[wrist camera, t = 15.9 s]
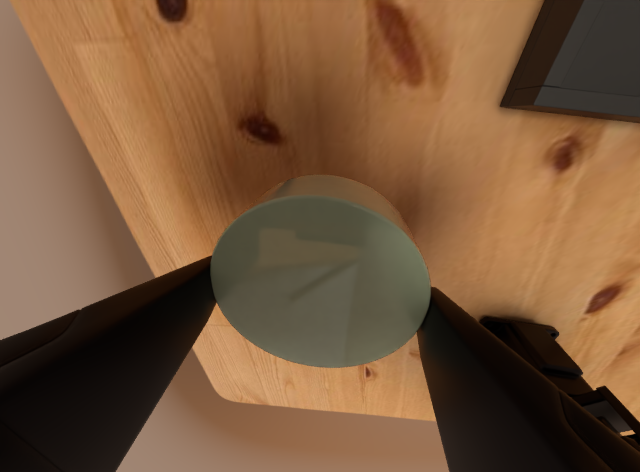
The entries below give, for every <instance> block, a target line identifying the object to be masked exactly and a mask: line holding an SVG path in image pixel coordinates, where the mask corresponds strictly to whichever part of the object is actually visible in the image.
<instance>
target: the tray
mask: <svg viewBox="0 0 640 472" xmlns="http://www.w3.org/2000/svg"><path fill="white" fill-rule="evenodd" d="M500 107H505V108H514V109H523V110H531V111H540V112H549V113H557V114H566V115H575V116H583V117H592V118H601V119H609V120H618V121H627V122H635V123H640V0H545V2H544V5H543V7H542V9H541V12H540V14H539V16H538V19H537V21H536V23H535V26H534V28H533V30H532V33H531V35H530V37H529V40H528V42H527V44H526V47H525V49H524V51H523V54H522V56H521V58H520V61H519V63H518V65H517V68H516V70H515V72H514V75H513V77H512V80H511V82H510V84H509V87H508V89H507V91H506V94H505V96H504V98H503V101H502V103H501V105H500Z"/></svg>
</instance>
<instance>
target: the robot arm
mask: <svg viewBox="0 0 640 472" xmlns="http://www.w3.org/2000/svg"><path fill="white" fill-rule="evenodd" d="M211 259H212V256H209V257H206V258H204V259H201V260H199V261H196V262H194V263H192V264H189V265H187V266H184V267H182V268H179V269H177V270H174V271H172V272H169V273H167V274H165V275H162V276H160V277H157V278H155V279H152V280H150V281H147V282H145V283H143V284H140V285H138V286H135V287H133V288H130V289H128V290H125V291H123V292H121V293H118V294H116V295H113V296H111V297H108V298H106V299H103V300H101V301H99V302H96V303H94V304H91V305H89V306H86V307H84V308H82V309H81V310H76V311H74V312H72V313H69V314H67V315H64V316H62V317H59V318H57V319H54V320H52V321H49V322H47V323H44V324H42V325H39V326H36V327H34V328H31V329H29V330H26V331H24V332H21V333H18V334H16V335H13V336H10V337H8V338H5V339H2V340H0V472H116V470H117V468H118V467H119V465H120V463H121V462H122V460H123V458H124V457H125V455H126V454H127V452H128V451H129V449H130V447H131V446H132V444H133V442H134V441H135V439H136V438H137V436H138V434H139V432H140V431H141V429H142V428H143V426H144V424H145V423H146V421H147V420H148V418H149V416H150V415H151V413H152V411H153V410H154V408H155V406H156V405H157V403H158V402H159V400H160V398H161V397H162V395H163V393H164V392H165V390H166V388H167V387H168V385H169V384H170V382H171V380H172V379H173V377H174V375H175V374H176V372H177V371H178V369H179V367H180V366H181V364H182V362H183V361H184V359H185V357H186V356H187V354H188V353H189V351H190V349H191V348H192V346H193V344H194V343H195V341H196V340H197V338H198V336H199V335H200V333H201V331H202V330H203V328H204V326H205V325H206V323H207V321H208V319H209V317H210V315H211V313H212V311H213V309H214V307H215V305H216V303H217V301H216V299H215V297H214V293H213V288H212V282H211V276H210V265H211ZM417 336H418V344H419V350H420V357H421V361H422V365H423V369H424V373H425V377H426V381H427V385H428V389H429V393H430V397H431V401H432V405H433V409H434V413H435V417H436V421H437V425H438V429H439V432H440V436H441V440H442V444H443V448H444V452H445V456H446V460H447V464H448V468H449V472H640V422H639V421H638V420H637V419H636V418H635V417H634V416H633V415H632V414H631V413H630V412H629V410H628V409H627V408H626V407H625V406H624V405H623V404H622V403H621V402H620V401H619V400H618V399H617V398H616V397H615V396H614V395H613V394H612V393H611V391H610V390H609V389H608V388H607V387H606V386H602V387H598V388H596V389H597V390H593V389H592V388H591V387H590V386H589V384H588V383H587V382H586V381H585V380H584V379H583V378H582V377H581V375H582V374H583V372H582V370H581V369H580V367H579V366H578V365H577V364H576V363H575V362H574V361H573V360H572V359H571V357H570V356H569V355H568V354H567V353H566V352H565V351H564V350H563V349H562V348H561V346H560V345H559V344H558V343H557V342H556V341H555V339H556V338H557V337H558V336H559V332H558V331H557V330H556V329H555V328H553V327H547V326H541V325H535V324H528V323H522V322H516V321H510V320H504V319H498V318H491V317H485V318H483V319H482V320H481V321H480V322H478V321H476V320H475V319H474V318H473V317H472V316H470V315H469V314H468V313H467V312H465V311H464V310H463V309H462V308H461V307H459V306H458V305H457V304H456V303H455V302H453V301H452V300H451V299H450V298H448V297H447V296H446V295H445V294H444V293H442V292H441V291H440V290H439V289H437V288H436V287H431V297H430V303H429V308H428V311H427V314H426V317H425V319H424V321H423V323H422V325H421V326H420V328H419V329H418V331H417ZM630 430H633V431H634V432H635V434H632V435H627V436H622V435H621V434H620V432H625V431H630Z"/></svg>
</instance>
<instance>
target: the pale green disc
mask: <svg viewBox="0 0 640 472" xmlns="http://www.w3.org/2000/svg"><path fill="white" fill-rule="evenodd" d="M210 276H211V282H212V288H213V293H214V297H215V299H216V301H217V304H218V306H219V308H220V309H221V311H222V313H223V314H224V316H225V317H226V318H227V320H228V321H229V322H230V324H231V325H232V326H233V327H234V328H235V329H236V330H237V331H238V332H239V333H240V334H241V335H243V336H244V337H245V338H246V339H247V340H249V341H250V342H252V343H253V344H254V345H256V346H257V347H259V348H261V349H263V350H264V351H266V352H268V353H270V354H272V355H274V356H277V357H279V358H282V359H285V360H288V361H291V362H294V363H298V364H303V365H307V366H314V367H325V368H341V367H351V366H357V365H362V364H366V363H369V362H373V361H376V360H378V359H381V358H383V357H385V356H387V355H389V354H391V353H393V352H394V351H396V350H398V349H399V348H400V347H402V346H403V345H404V344H406V343H407V342H408V341H409V340H410V339H411V338H412V337H413V336H414V334H415V333H416V332H417V331H418V329H419V328H420V326H421V325H422V323H423V321H424V319H425V317H426V314H427V311H428V308H429V303H430V297H431V281H430V277H429V272H428V268H427V266H426V263H425V261H424V258H423V256H422V254H421V252H420V250H419V248H418V246H417V244H416V242H415V240H414V238H413V236H412V234H411V232H410V230H409V228H408V226H407V224H406V223H405V221H404V219H403V218H402V216H401V214H400V213H399V212H398V210H397V209H396V208H395V207H394V206H393V205H392V203H390V202H389V201H388V200H387V199H386V198H385V197H384V196H383V195H381V194H380V193H378V192H377V191H375V190H374V189H372V188H370V187H368V186H366V185H364V184H362V183H360V182H357V181H354V180H351V179H348V178H345V177H339V176H334V175H307V176H301V177H297V178H292V179H290V180H287V181H284V182H282V183H280V184H278V185H276V186H274V187H272V188H270V189H269V190H268V191H266V192H265V193H264V194H263V195H261V196H260V197H259V198H258V199H257V200H256V201H254V202H253V203H252V204H251V205H250V206H249V207H248V208H247V209H246V210H244V211H243V212H242V213H241V214H240V215H239V216H238V217H237V218H235V219H234V220H233V221H232V222H231V224H230V225H229V226H228V227H227V228H226V229H225V230H224V232H223V233H222V235H221V236H220V238H219V239H218V241H217V244H216V246H215V248H214V251H213V255H212V259H211V265H210Z"/></svg>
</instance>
